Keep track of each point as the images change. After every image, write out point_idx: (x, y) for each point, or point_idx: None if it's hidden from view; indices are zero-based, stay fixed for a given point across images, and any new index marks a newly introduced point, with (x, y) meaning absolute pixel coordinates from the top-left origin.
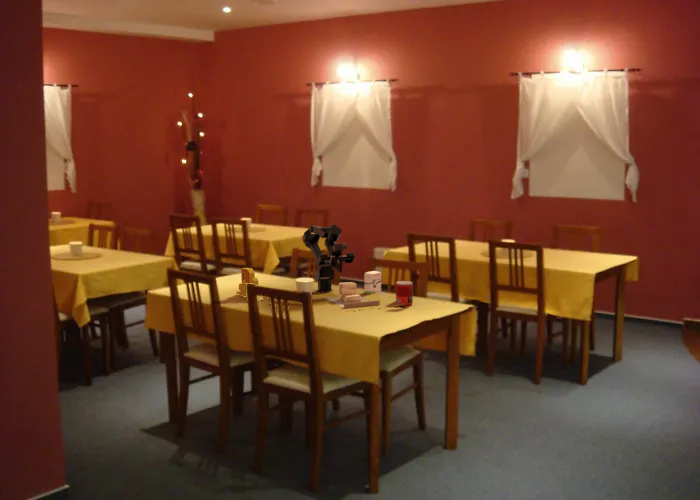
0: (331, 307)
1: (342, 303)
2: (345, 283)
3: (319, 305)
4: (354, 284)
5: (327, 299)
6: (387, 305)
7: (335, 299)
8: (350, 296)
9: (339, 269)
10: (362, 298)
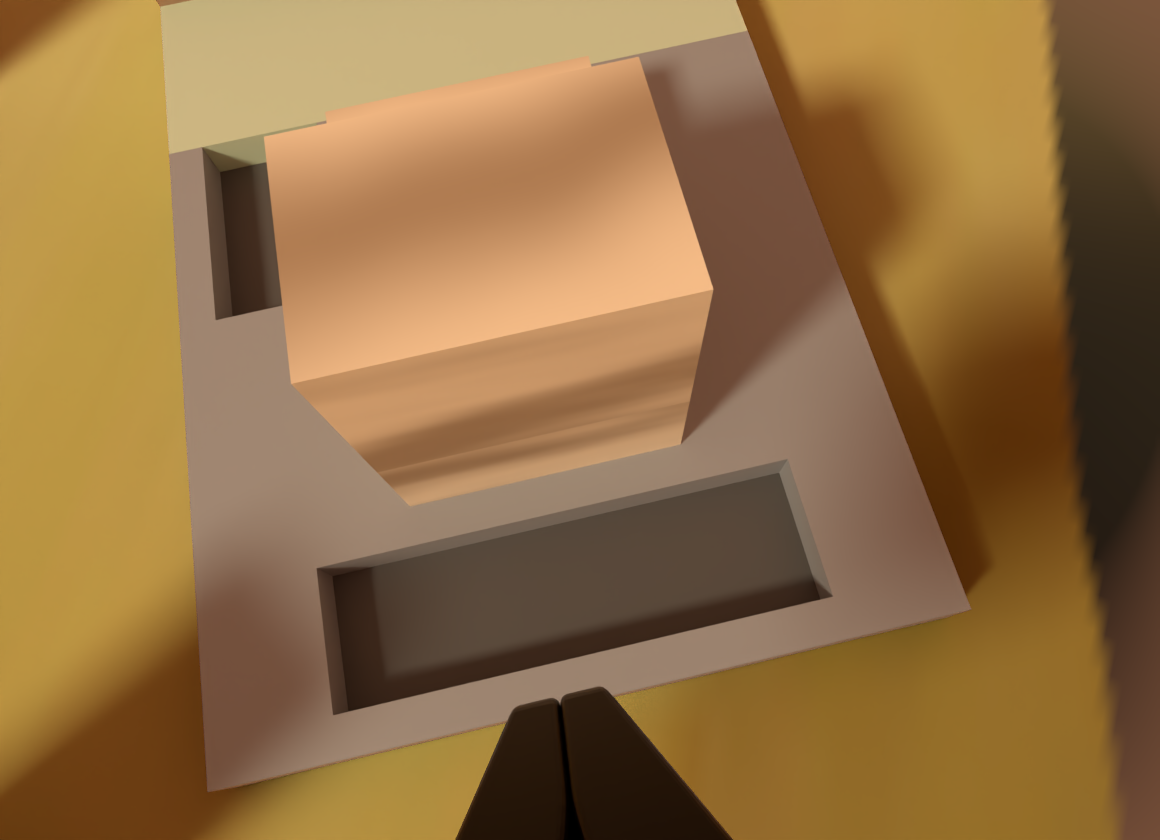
0: (843, 131)
1: (673, 120)
2: (542, 206)
3: (1037, 282)
4: (326, 137)
5: (912, 460)
6: (16, 130)
7: (756, 427)
8: (523, 80)
9: (650, 756)
10: (242, 425)
